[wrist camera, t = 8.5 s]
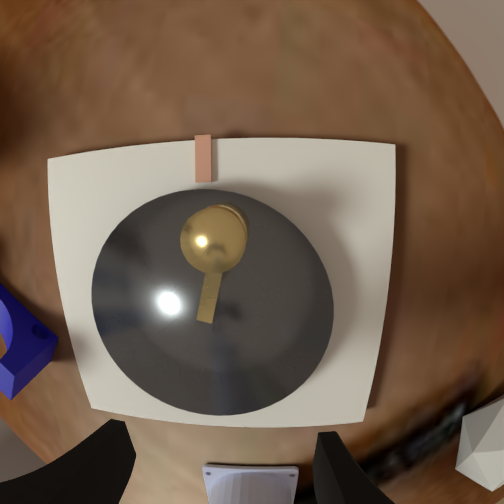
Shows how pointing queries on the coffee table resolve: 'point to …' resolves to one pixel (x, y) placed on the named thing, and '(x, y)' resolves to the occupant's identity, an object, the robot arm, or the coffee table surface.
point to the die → (483, 445)
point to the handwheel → (212, 302)
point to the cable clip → (22, 345)
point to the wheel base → (276, 196)
